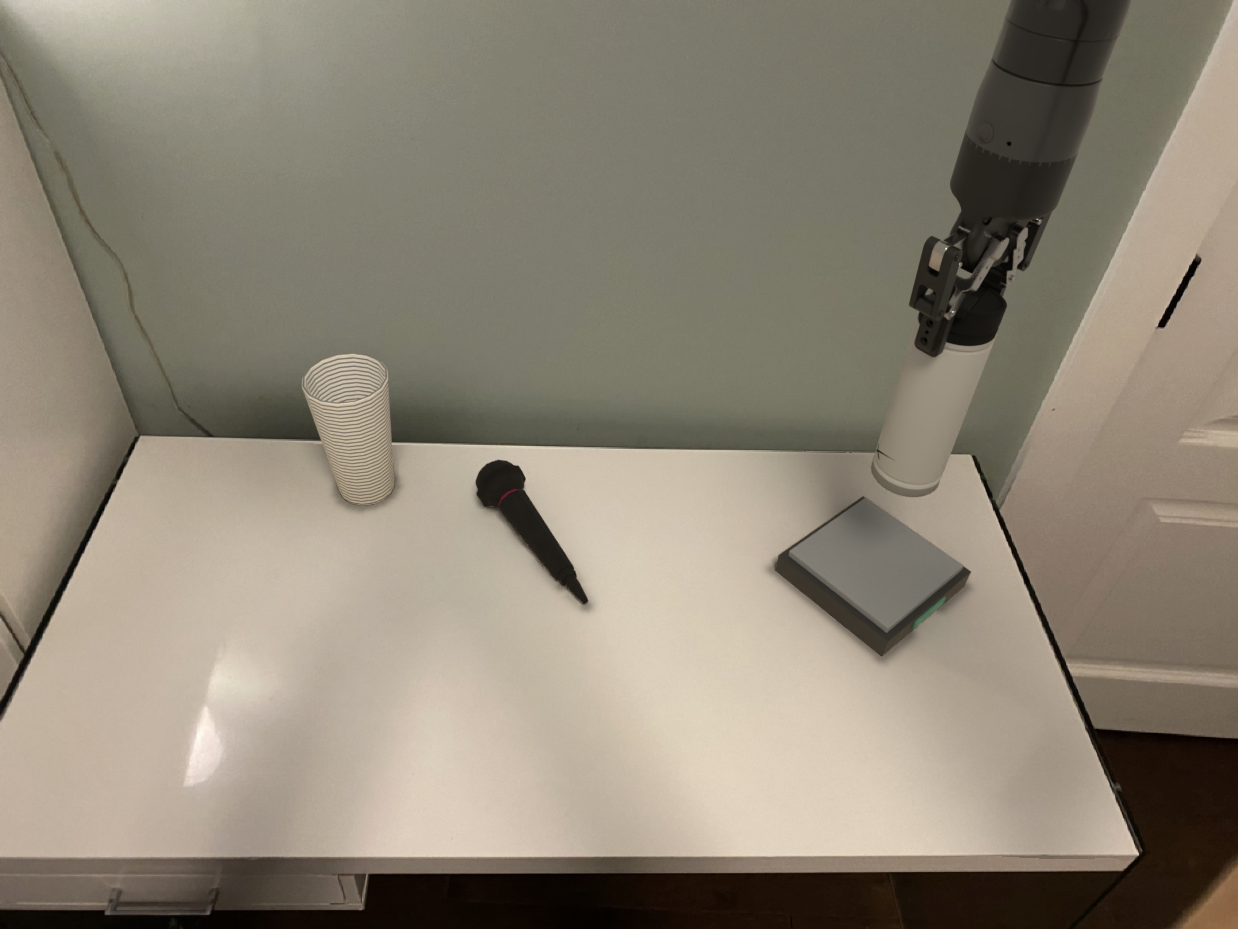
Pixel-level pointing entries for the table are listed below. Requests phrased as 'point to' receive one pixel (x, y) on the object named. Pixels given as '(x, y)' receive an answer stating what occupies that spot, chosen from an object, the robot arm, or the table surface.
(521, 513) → the microphone
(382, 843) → the table surface
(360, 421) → the cup
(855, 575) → the scale
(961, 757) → the table surface
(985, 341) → the travel mug
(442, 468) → the table surface
